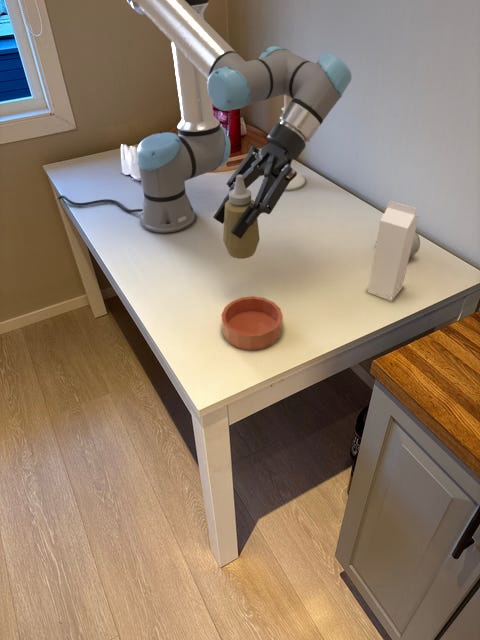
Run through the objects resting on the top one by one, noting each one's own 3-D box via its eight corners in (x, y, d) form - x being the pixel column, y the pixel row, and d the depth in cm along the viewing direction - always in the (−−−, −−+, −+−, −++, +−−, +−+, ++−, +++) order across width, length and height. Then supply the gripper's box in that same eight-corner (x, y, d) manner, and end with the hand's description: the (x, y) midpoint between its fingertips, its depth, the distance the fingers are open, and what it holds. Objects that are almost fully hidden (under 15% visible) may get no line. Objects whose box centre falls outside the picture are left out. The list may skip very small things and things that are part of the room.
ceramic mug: (419, 259, 122) (425, 232, 117) (392, 268, 119) (397, 241, 114) (392, 240, 129) (397, 214, 124) (366, 248, 127) (370, 221, 122)
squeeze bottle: (256, 264, 104) (256, 186, 92) (219, 260, 106) (214, 183, 94) (262, 244, 110) (263, 168, 98) (227, 241, 112) (224, 166, 100)
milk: (378, 280, 116) (394, 194, 102) (402, 288, 113) (422, 202, 99) (366, 292, 112) (382, 206, 98) (391, 301, 110) (411, 214, 95)
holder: (210, 333, 103) (209, 319, 101) (246, 303, 111) (246, 289, 108) (258, 358, 97) (258, 344, 95) (292, 324, 105) (293, 310, 102)
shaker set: (149, 180, 161) (144, 147, 154) (138, 184, 159) (133, 151, 152) (132, 169, 169) (126, 137, 161) (121, 173, 167) (115, 140, 159)
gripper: (333, 158, 94) (263, 255, 98) (274, 129, 106) (214, 216, 111) (313, 137, 88) (240, 241, 93) (254, 108, 101) (192, 201, 105)
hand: (226, 227), depth 102 cm, fingers closed on squeeze bottle, 6 cm apart
